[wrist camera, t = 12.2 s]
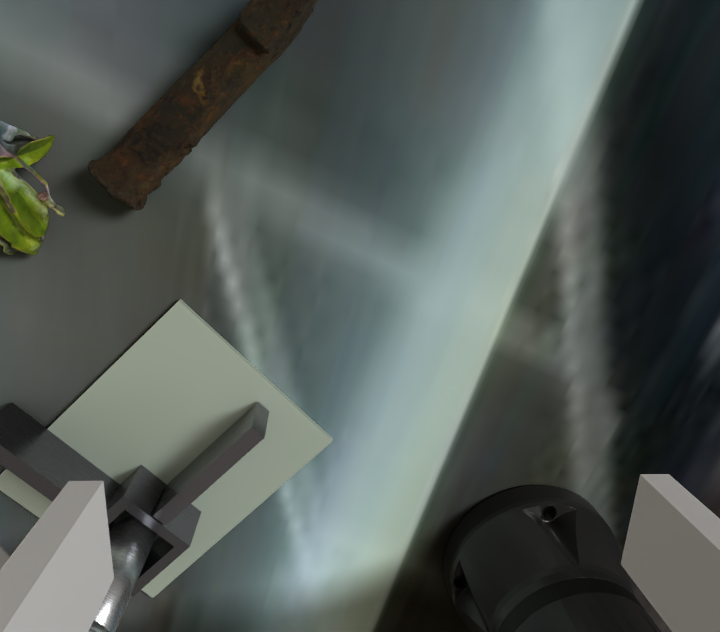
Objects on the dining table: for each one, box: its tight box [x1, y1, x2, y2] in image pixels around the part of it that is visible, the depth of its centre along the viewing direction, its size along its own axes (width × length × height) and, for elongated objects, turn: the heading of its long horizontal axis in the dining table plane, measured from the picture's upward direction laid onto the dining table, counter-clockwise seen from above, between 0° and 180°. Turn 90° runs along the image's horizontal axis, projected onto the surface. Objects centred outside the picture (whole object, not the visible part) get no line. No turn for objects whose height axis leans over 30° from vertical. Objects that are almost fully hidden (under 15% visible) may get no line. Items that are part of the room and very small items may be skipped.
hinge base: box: [0, 403, 201, 596], centre depth 39 cm, size 16×6×4 cm, turn 43°
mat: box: [0, 299, 333, 598], centre depth 41 cm, size 16×21×1 cm
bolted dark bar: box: [153, 402, 269, 526], centre depth 39 cm, size 1×10×4 cm, turn 132°
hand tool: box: [88, 0, 317, 210], centre depth 32 cm, size 19×4×5 cm, turn 130°
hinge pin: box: [88, 510, 157, 632], centre depth 36 cm, size 4×4×13 cm
